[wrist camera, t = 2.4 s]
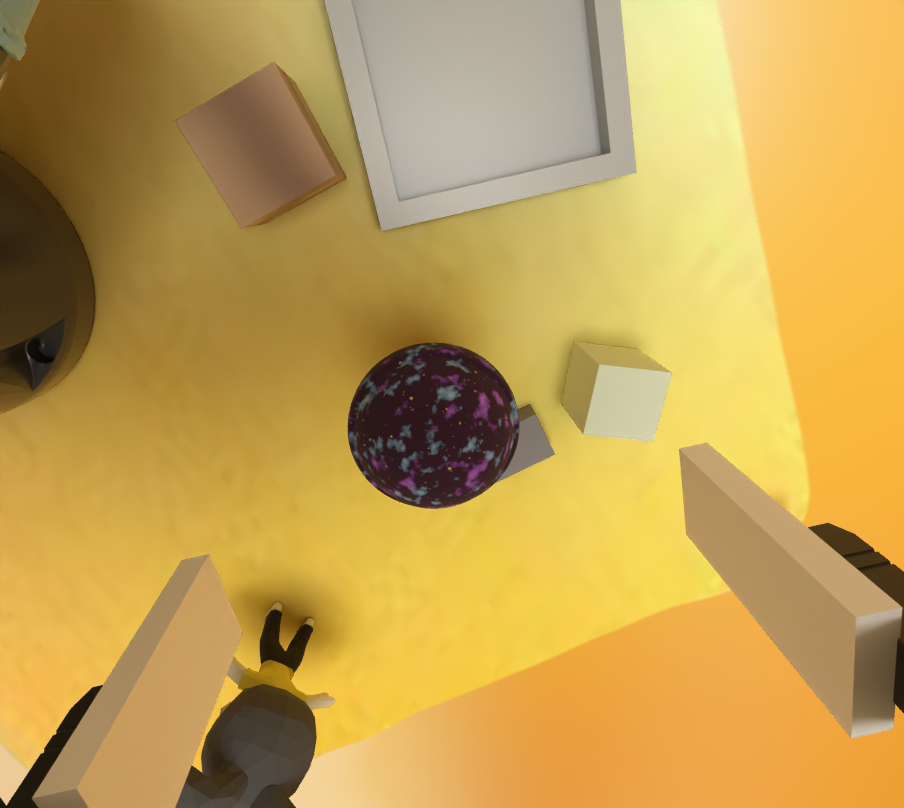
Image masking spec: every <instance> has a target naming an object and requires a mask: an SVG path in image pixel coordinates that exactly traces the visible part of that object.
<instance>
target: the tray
mask: <svg viewBox="0 0 904 808" xmlns="http://www.w3.org/2000/svg"><path fill="white" fill-rule="evenodd" d="M324 2H325V6H326V10H327V14H328V18H329V22H330V26H331V30H332V34H333V38H334V42H335V46H336V50H337V54H338V58H339V62H340V66H341V70H342V74H343V78H344V82H345V86H346V90H347V94H348V98H349V102H350V106H351V110H352V114H353V118H354V122H355V126H356V130H357V134H358V138H359V142H360V146H361V150H362V154H363V158H364V162H365V166H366V170H367V174H368V178H369V182H370V186H371V190H372V194H373V198H374V202H375V206H376V210H377V214H378V218H379V222H380V226H381V230H382V231H385V230H389V229H394V228H398V227H402V226H407V225H411V224H415V223H420V222H424V221H428V220H433V219H437V218H441V217H446V216H450V215H454V214H459V213H463V212H467V211H472V210H476V209H480V208H485V207H489V206H493V205H498V204H502V203H506V202H511V201H515V200H519V199H524V198H528V197H532V196H537V195H541V194H545V193H550V192H554V191H558V190H563V189H567V188H572V187H576V186H580V185H585V184H589V183H593V182H598V181H602V180H606V179H611V178H615V177H619V176H624V175H628V174H632V173H636V164H635V153H634V142H633V131H632V121H631V110H630V99H629V89H628V78H627V67H626V56H625V46H624V35H623V24H622V13H621V3H620V0H324Z"/></svg>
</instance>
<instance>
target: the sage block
mask: <svg viewBox="0 0 904 808" xmlns="http://www.w3.org/2000/svg"><path fill="white" fill-rule="evenodd" d="M671 375H672V372H670V371H669V370H667V369H666V368H664V367H663V366H662V365H660V364H659V363H657V362H656V361H654V360H653V359H651V358H650V357H648V356H647V355H646V354H644V353H643V352H641V351H640V350H638V349H635V348H626V347H618V346H609V345H601V344H593V343H584V342H576V341H574V344H573V349H572V353H571V358H570V363H569V367H568V372H567V377H566V381H565V386H564V391H563V396H562V400H561V404H562V406H563V407H564V408H565V410H566V411H567V413H568V414H569V415H570V417H571V418H572V420H573V421H574V422H575V424H576V425H577V427H578V428H579V429H580V431H581V432H582V434H583V435H592V436H602V437H611V438H621V439H631V440H641V441H651V442H653V440H654V437H655V433H656V429H657V426H658V422H659V418H660V415H661V411H662V408H663V404H664V400H665V397H666V393H667V390H668V386H669V382H670V379H671Z"/></svg>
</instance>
